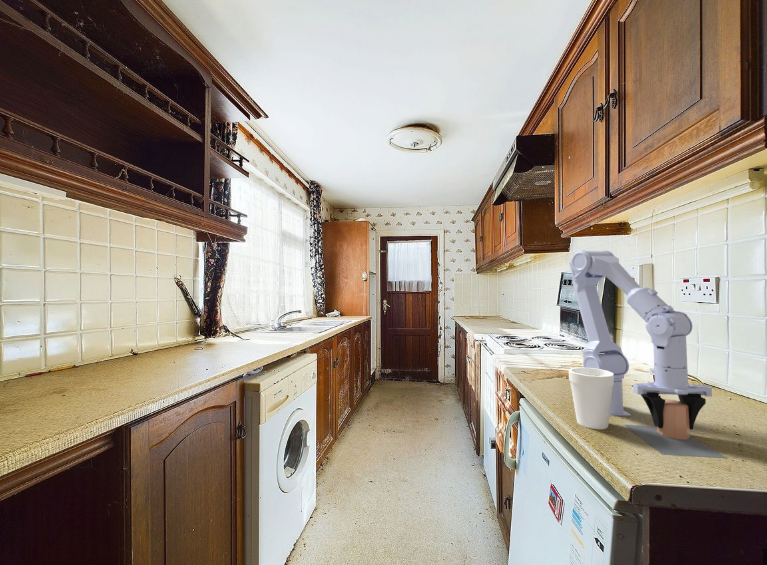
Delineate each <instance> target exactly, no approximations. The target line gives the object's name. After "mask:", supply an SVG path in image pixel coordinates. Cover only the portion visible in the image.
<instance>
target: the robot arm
mask: <svg viewBox="0 0 767 565" xmlns="http://www.w3.org/2000/svg"><path fill="white" fill-rule="evenodd" d="M619 259H620V258H618V257H617V256H615V254H613V252H611V251H609V250H601V251H600V250H598V251H597V250H577V251H576V252H575V253H573V255H572V257H571V258H570V262H569V267H570V270H571V274H572V286H573V289H574V294H575V297H576V302H577V304H578V308H579V313H580V316H581V320H582V323H583V324H582V325H583V328H584V331H585V333H586V339H587V342H588V344H587V345H586V347H584V348H583V350H582V351H581V352H582V355H583V359H582V360H583V361H582V368H595V369H602V370H606V371H609V372H612V373H613V375H614V385H613V389H612V397H611V406H610V414H609V416H627V417H628V416H629V417H631V416H632V415H631V413H629V412H628V411H626V410H624V391H623V380H624V379H625V375H626V374H628V372H629V369H630V364H629V360H628V358H627V357H626V356H625V355H624V353H623V351H622V348H621V347H620V345H618V344H617V343H615V342H614V341H613V340H612V337H611V334H610V332H609V327H608V324H607V321H606V317H605V313H604V309H603V307H602V303H601V301H600V296H599V293H598V290H597V286H598V284H599V283H600V281H602V280H603V279H604V278H605V277H606V278H607V279H608V280H609V281H610V282H612V283H613V284H614V285H615V286H616V287H617V288H618V289H619V290H620V291H622V292H623V293H624V294H625V296H627V299H626V302H627V304H628V305H629V306H630V308H631V309H633V310H634V311H635V312H636V313H637V315H639V317H641V319H643V321H644V322H645V323H646V324H645V330H646V332H647V333H648V334H649V336H650V337H651V338H650V339H651V343H652V344H653V345H652V346H653V347H652V348H653V362H654V363H653V370H654V373H653V374H654V382H643V383H632V391H633V393H635V394H636V395H640V396H641V398H642V399H643V400H644V402H645V404H646V406H647V409H648V410H649V413H650V415H651V418H652V421H653V422H652V423H653V426H657V427H659V428H663V409H664V404H665V400H664V399H665V398H662V396H661V395H676V396H678V401H680V402H684V403H686V404H687V405H688V406H689V426H690V430H693V429H694V426H695V422H696V419H697V417H698V415H699V413H700V411H701V410H702V408H703V407H704V406H705V405H706V403H707V399H706V398H705V397H713V388H712V387H711V386H707V385H704V384H703V385H701V384H699V385H698V384H689V374H688V373H689V372H688V353H687V351H688V348H687V336H688V335H690V334H691V332H692V330H693V322H692V321H691V318H690V317H689V316H688V314H686V313H684V311H683V312H682V311H678V310H677V311H676V310H675V309H674V307H673V306H671V305H668V304H667V303H666V302H665V301H664V300H663V299H662V298H661V297H660V296H658V291H656V290H655V289H651V288H650V287H641V285H640V284H638V282H637V281H636V280H635V278H633V277H632V275H631V274H629V272H628V271H627V270H626V269H625V268H624V267H623V266H622V265H621V264H620V262H619ZM703 396H704V397H703Z"/></svg>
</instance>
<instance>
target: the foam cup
mask: <svg viewBox="0 0 767 565" xmlns="http://www.w3.org/2000/svg"><path fill="white" fill-rule="evenodd" d="M568 381H569V383H570V389H571V394H572V399H573V401H572V402H573V407H574V411H575V417H576V422H577V424H578V425H579V426H581V427H584V428H588V429H592V430H605V429H607V428H609V424H610V423H609V422H610V415H609V414H610V406H611V397H612V389H613V385H614V375H613V373H612V372H609V371H606V370H602V369H595V368H584V367H572V368H569V369H568Z"/></svg>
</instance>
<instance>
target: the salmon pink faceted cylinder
mask: <svg viewBox="0 0 767 565" xmlns="http://www.w3.org/2000/svg"><path fill="white" fill-rule="evenodd" d="M663 399H664V400H665V404H664V409H663V428H659V427H657V432H658V433H660V434H662V435H663V436H666V437H670V438H674V439H685V440H687V439H688V438H689V437H690V436H691V433H690V432H691V429H690V426H689V406H688V405H687V404H686V403H684V402H680V400H676V399H675V400H674V399H670V398H669V399H668V398H663Z"/></svg>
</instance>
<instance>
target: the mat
mask: <svg viewBox="0 0 767 565" xmlns="http://www.w3.org/2000/svg"><path fill="white" fill-rule="evenodd" d="M623 426H624V427H625V428H627V429H628V430H629V431H630V432H632V433H633V434H635V435H636V436H638V437H639V438H640V439H641V440H642V441H644V442H645V443H647V444H648V445H649V446H651V447H652V448H654V449H655V450H656V451H658V452H659V453H660V454H661V455H666V456H681V457H682V456H683V457H701V458H714V459H715V458H716V459H718V458H719V459H728V457H726V456H725V455H723V454H721V453H719V452H718V451H716V450H714V449H713V448H711V447H710V446H708V445H706V444H705V443H703V442H702V441H699V440H698V439H696V438H694V437H692V436H691V435H690V437H689V438H688V439H687V440H685V439H674V438H670V437H666V436H663V435H662V434H660V433H658V432H657V426H655V425H640V424H639V425H637V424H623Z"/></svg>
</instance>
